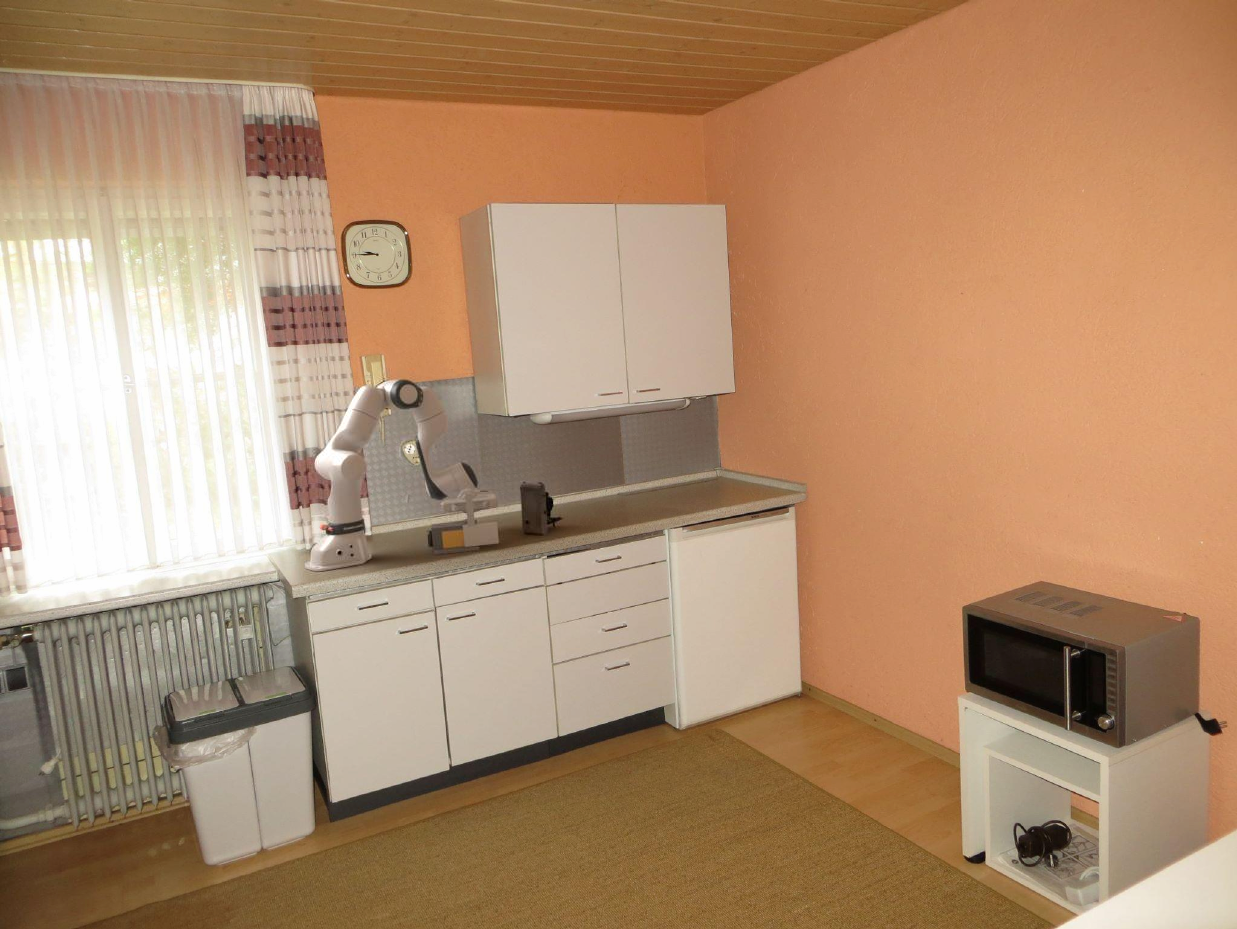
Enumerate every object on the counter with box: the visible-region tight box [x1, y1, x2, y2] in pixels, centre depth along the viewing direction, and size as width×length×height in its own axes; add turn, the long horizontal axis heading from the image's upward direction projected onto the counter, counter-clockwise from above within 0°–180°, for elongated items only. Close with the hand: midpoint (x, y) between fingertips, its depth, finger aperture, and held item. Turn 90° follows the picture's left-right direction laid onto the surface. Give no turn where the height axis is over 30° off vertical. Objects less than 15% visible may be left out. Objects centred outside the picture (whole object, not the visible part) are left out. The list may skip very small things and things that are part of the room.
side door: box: [463, 493, 500, 547], centre depth 318 cm, size 12×2×19 cm, turn 101°
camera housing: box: [426, 518, 480, 556], centre depth 321 cm, size 18×10×10 cm, turn 101°
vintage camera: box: [519, 481, 565, 536], centre depth 342 cm, size 10×16×20 cm, turn 149°
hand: (470, 507), depth 320 cm, fingers open, 8 cm apart
